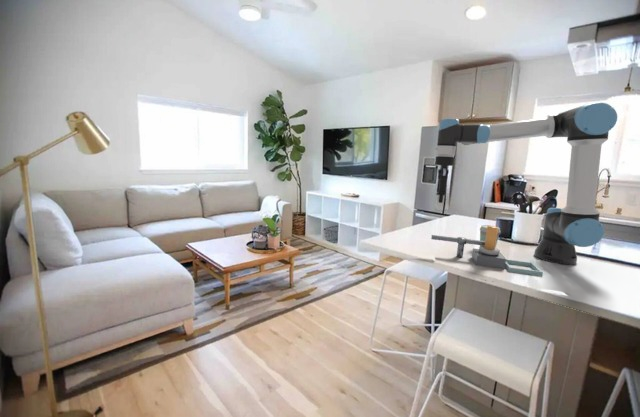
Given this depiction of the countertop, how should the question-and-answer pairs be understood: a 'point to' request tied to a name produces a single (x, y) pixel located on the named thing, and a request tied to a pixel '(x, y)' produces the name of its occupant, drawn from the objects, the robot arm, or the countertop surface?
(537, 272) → the tray
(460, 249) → the grey lever handle
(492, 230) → the tamper
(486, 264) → the socket block
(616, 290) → the countertop surface
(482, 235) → the coffee cup
